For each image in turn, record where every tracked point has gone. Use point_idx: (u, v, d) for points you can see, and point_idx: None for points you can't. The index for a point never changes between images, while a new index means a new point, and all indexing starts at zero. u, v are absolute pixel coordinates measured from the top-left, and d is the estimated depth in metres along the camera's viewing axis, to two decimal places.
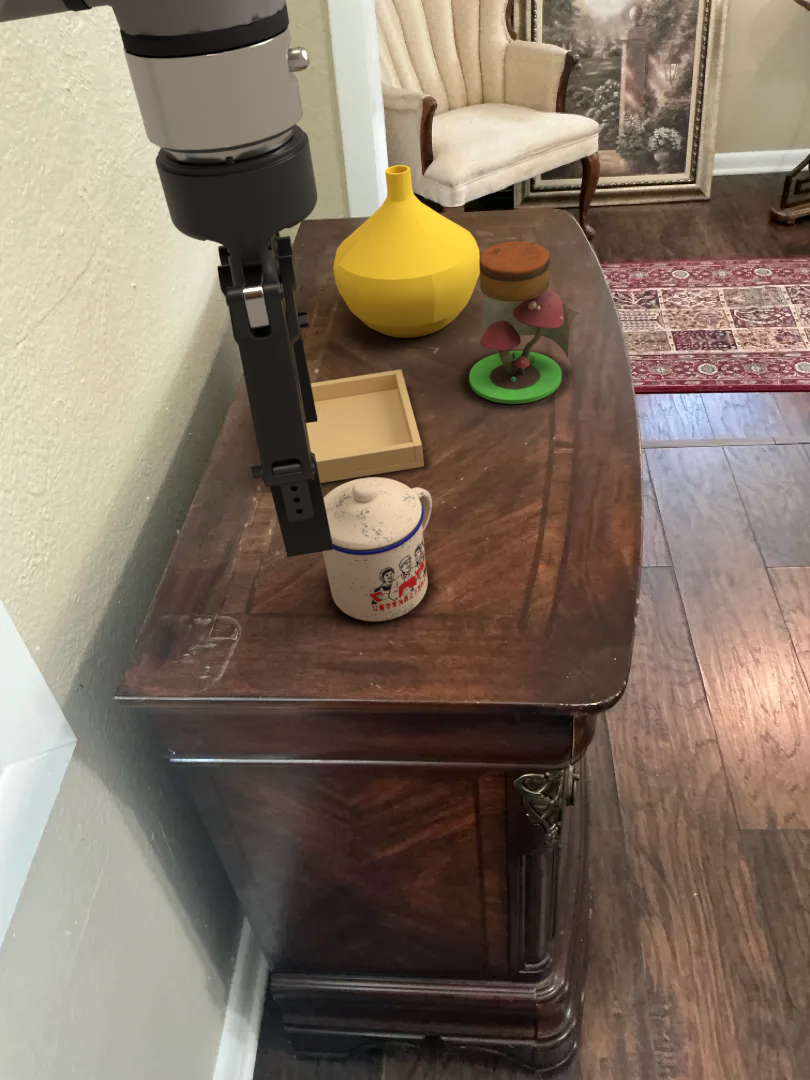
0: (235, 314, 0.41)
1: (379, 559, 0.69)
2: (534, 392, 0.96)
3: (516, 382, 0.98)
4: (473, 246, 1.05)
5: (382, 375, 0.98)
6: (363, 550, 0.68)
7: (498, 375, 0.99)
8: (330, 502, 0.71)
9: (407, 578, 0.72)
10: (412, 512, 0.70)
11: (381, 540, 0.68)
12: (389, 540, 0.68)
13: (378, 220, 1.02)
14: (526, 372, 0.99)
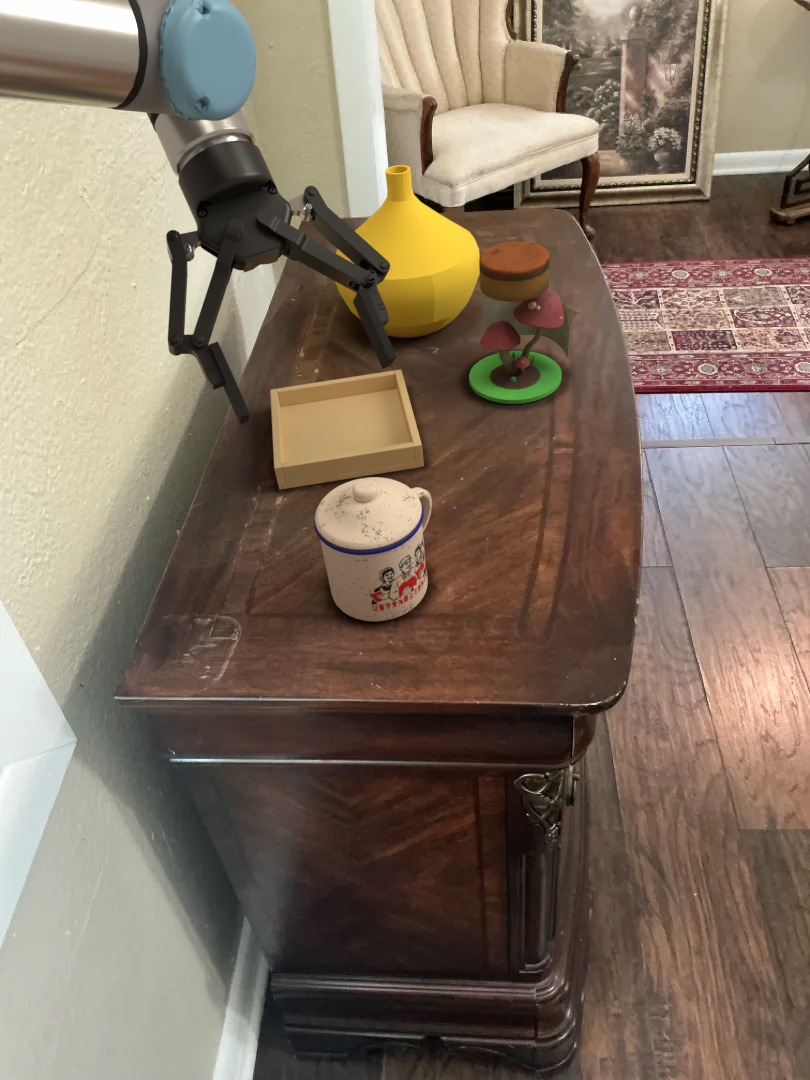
0: None
1: (379, 559, 0.69)
2: (534, 392, 0.96)
3: (516, 382, 0.98)
4: (473, 246, 1.05)
5: (382, 375, 0.98)
6: (363, 550, 0.68)
7: (498, 375, 0.99)
8: (330, 502, 0.71)
9: (407, 578, 0.72)
10: (412, 512, 0.70)
11: (381, 540, 0.68)
12: (389, 540, 0.68)
13: (378, 220, 1.02)
14: (526, 372, 0.99)
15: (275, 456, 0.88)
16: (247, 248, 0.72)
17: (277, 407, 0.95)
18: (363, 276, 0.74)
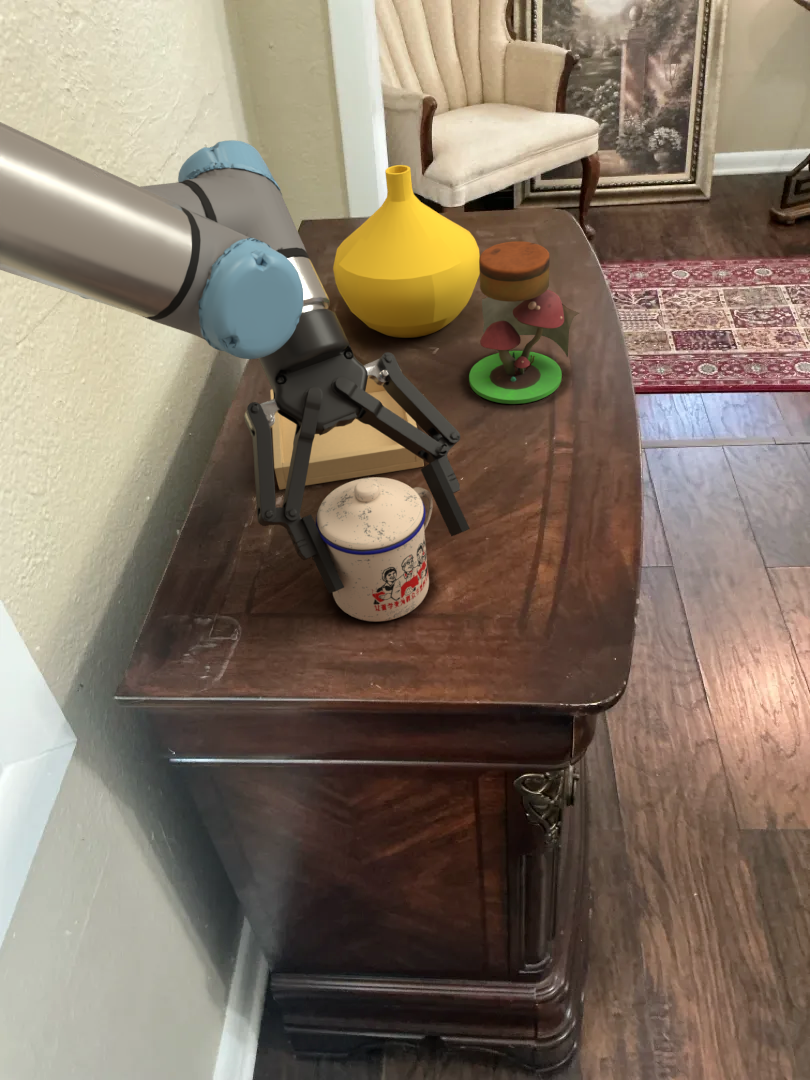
0: None
1: (382, 559, 0.69)
2: (534, 392, 0.96)
3: (516, 382, 0.98)
4: (473, 246, 1.05)
5: None
6: (366, 550, 0.68)
7: (498, 375, 0.99)
8: (332, 502, 0.71)
9: (409, 578, 0.72)
10: (414, 511, 0.70)
11: (384, 540, 0.68)
12: (392, 540, 0.68)
13: (378, 220, 1.02)
14: (526, 372, 0.99)
15: (275, 456, 0.88)
16: (326, 414, 0.72)
17: None
18: (435, 447, 0.74)
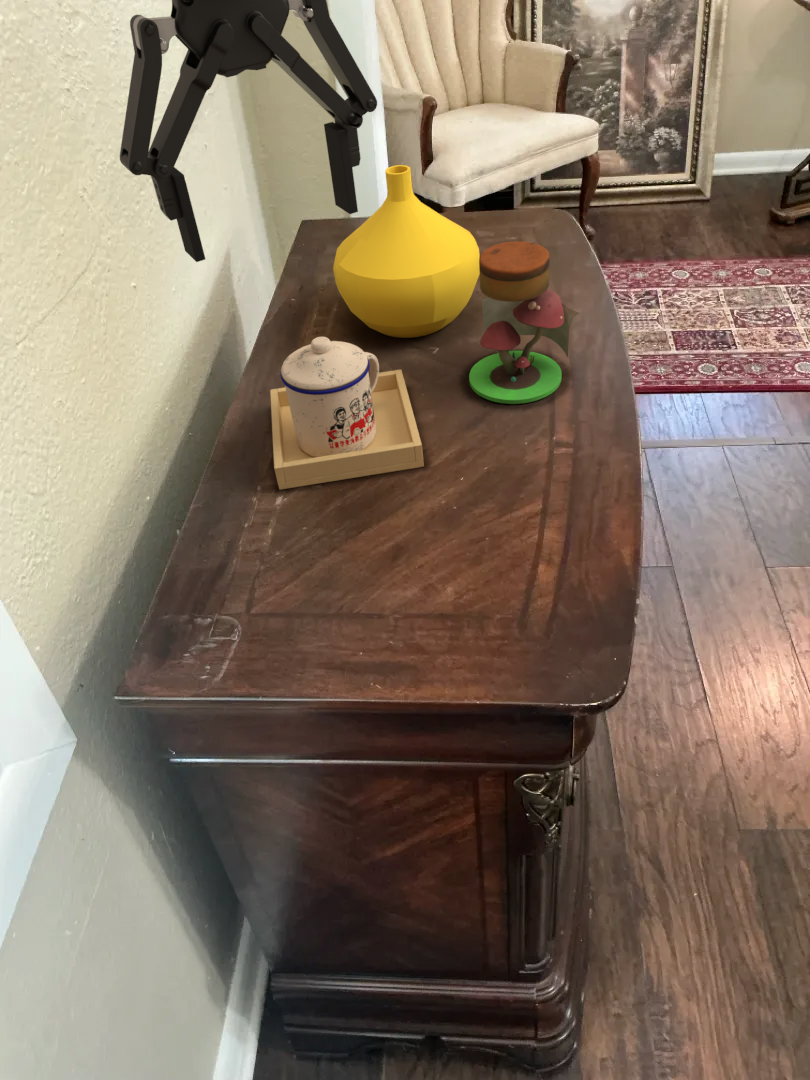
0: None
1: (333, 399, 0.85)
2: (534, 392, 0.96)
3: (516, 382, 0.98)
4: (473, 246, 1.05)
5: (382, 375, 0.98)
6: (319, 390, 0.84)
7: (498, 375, 0.99)
8: (293, 357, 0.88)
9: (357, 419, 0.88)
10: (359, 362, 0.86)
11: (334, 381, 0.84)
12: (340, 382, 0.84)
13: (378, 220, 1.02)
14: (526, 372, 0.99)
15: (275, 456, 0.88)
16: (232, 58, 0.61)
17: (277, 407, 0.95)
18: (347, 114, 0.67)
